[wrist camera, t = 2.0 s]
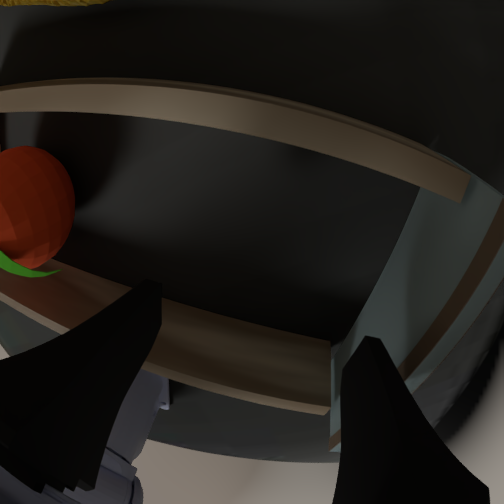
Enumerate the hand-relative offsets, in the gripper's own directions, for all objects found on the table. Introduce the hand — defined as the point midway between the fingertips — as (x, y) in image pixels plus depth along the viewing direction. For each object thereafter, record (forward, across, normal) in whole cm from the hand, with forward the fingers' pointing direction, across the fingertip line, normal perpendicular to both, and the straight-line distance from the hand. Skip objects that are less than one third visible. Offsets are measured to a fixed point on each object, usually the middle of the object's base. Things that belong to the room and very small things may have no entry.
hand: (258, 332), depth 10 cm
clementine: (+6, +14, 0) cm, 15 cm away
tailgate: (+5, -6, 0) cm, 8 cm away
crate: (+6, +8, 0) cm, 10 cm away
